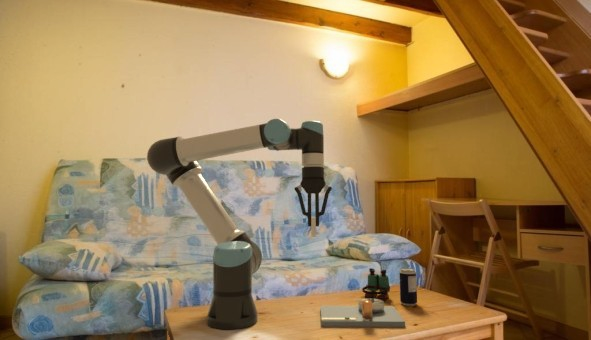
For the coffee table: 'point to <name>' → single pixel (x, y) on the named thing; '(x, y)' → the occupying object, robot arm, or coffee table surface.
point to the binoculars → (377, 285)
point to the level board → (359, 317)
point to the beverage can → (408, 287)
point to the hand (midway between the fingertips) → (313, 236)
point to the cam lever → (370, 307)
